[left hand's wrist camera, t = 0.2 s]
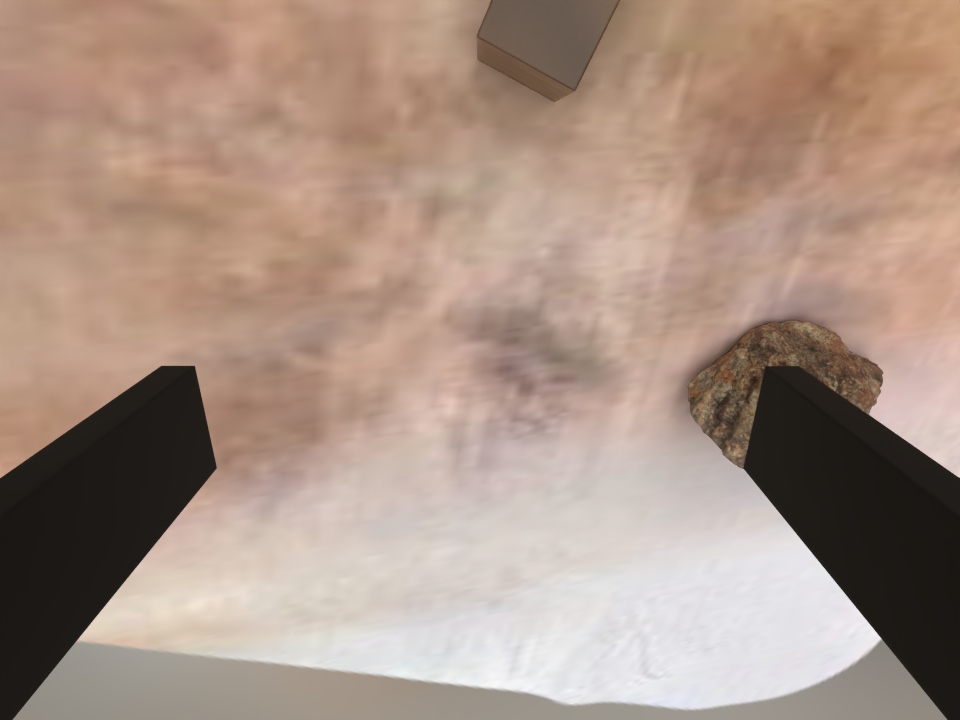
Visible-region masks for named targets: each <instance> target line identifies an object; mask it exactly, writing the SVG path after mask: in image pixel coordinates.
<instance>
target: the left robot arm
mask: <svg viewBox="0 0 960 720" xmlns="http://www.w3.org/2000/svg"><path fill="white" fill-rule="evenodd" d="M216 468H217V467H216V462H215V457H214V453H213V448H212V444H211V439H210V434H209V430H208V425H207V420H206V416H205V411H204V407H203V402H202V397H201V393H200V388H199V383H198V379H197V374H196V370H195V366H161V367H159V368H158V369H156V370H155V371H154V372H152V373H151V374H149V375H148V376H146V377H145V378H143V379H142V380H141V381H139V382H138V383H136V384H135V385H133V386H132V387H131V388H129V389H128V390H126V391H125V392H123V393H122V394H121V395H119V396H118V397H116V398H115V399H113V400H112V401H110V402H109V403H108V404H106V405H105V406H103V407H102V408H100V409H99V410H98V411H96V412H95V413H93V414H92V415H90V416H89V417H88V418H86V419H85V420H83V421H82V422H80V423H79V424H77V425H76V426H75V427H73V428H72V429H70V430H69V431H67V432H66V433H65V434H63V435H62V436H60V437H59V438H57V439H56V440H55V441H53V442H52V443H50V444H49V445H47V446H46V447H45V448H43V449H42V450H40V451H39V452H37V453H36V454H34V455H33V456H32V457H30V458H29V459H27V460H26V461H24V462H23V463H22V464H20V465H19V466H17V467H16V468H14V469H13V470H12V471H10V472H9V473H7V474H6V475H4V476H3V477H1V478H0V720H13V718H14V717H15V716H16V715H17V713H18V712H19V711H20V710H21V709H22V707H23V706H24V705H25V704H26V702H27V701H28V700H29V699H30V697H31V696H32V695H33V694H34V693H35V691H36V690H37V689H38V688H39V686H40V685H41V684H42V683H43V681H44V680H45V679H46V678H47V677H48V675H49V674H50V673H51V672H52V670H53V669H54V668H55V667H56V665H57V664H58V663H59V662H60V661H61V659H62V658H63V657H64V656H65V654H66V653H67V652H68V651H69V649H70V648H71V647H72V646H73V645H74V643H75V642H76V641H77V640H78V638H79V637H80V636H81V635H82V633H83V632H84V631H85V630H86V629H87V627H88V626H89V625H90V624H91V622H92V621H93V620H94V619H95V617H96V616H97V615H98V614H99V612H100V611H101V610H102V609H103V608H104V606H105V605H106V604H107V603H108V601H109V600H110V599H111V598H112V596H113V595H114V594H115V593H116V592H117V590H118V589H119V588H120V587H121V585H122V584H123V583H124V582H125V580H126V579H127V578H128V577H129V576H130V574H131V573H132V572H133V571H134V569H135V568H136V567H137V566H138V564H139V563H140V562H141V561H142V560H143V558H144V557H145V556H146V555H147V553H148V552H149V551H150V550H151V548H152V547H153V546H154V545H155V544H156V542H157V541H158V540H159V539H160V537H161V536H162V535H163V534H164V532H165V531H166V530H167V529H168V528H169V526H170V525H171V524H172V523H173V521H174V520H175V519H176V518H177V516H178V515H179V514H180V513H181V512H182V510H183V509H184V508H185V507H186V505H187V504H188V503H189V502H190V500H191V499H192V498H193V497H194V495H195V494H196V493H197V492H198V491H199V489H200V488H201V487H202V486H203V484H204V483H205V482H206V481H207V479H208V478H209V477H210V476H211V475H212V473H213V472H214V471H215V470H216ZM743 468H744V470H745V471H746V472H747V473H748V475H749V476H750V477H751V478H752V479H753V481H754V482H755V483H756V484H757V486H758V487H759V488H760V489H761V491H762V492H763V493H764V494H765V495H766V497H767V498H768V499H769V500H770V502H771V503H772V504H773V505H774V507H775V508H776V509H777V510H778V512H779V513H780V514H781V515H782V516H783V518H784V519H785V520H786V521H787V523H788V524H789V525H790V526H791V528H792V529H793V530H794V531H795V532H796V534H797V535H798V536H799V537H800V539H801V540H802V541H803V542H804V544H805V545H806V546H807V547H808V548H809V550H810V551H811V552H812V553H813V555H814V556H815V557H816V558H817V560H818V561H819V562H820V563H821V564H822V566H823V567H824V568H825V569H826V571H827V572H828V573H829V574H830V576H831V577H832V578H833V579H834V580H835V582H836V583H837V584H838V585H839V587H840V588H841V589H842V590H843V592H844V593H845V594H846V595H847V596H848V598H849V599H850V600H851V601H852V603H853V604H854V605H855V606H856V608H857V609H858V610H859V611H860V612H861V614H862V615H863V616H864V617H865V619H866V620H867V621H868V622H869V624H870V625H871V626H872V627H873V629H874V630H875V631H876V632H877V633H878V635H879V636H880V637H881V638H882V640H883V641H884V642H885V643H886V645H887V646H888V647H889V648H890V649H891V651H892V652H893V653H894V654H895V656H896V657H897V658H898V659H899V661H900V662H901V663H902V664H903V665H904V667H905V668H906V669H907V670H908V672H909V673H910V674H911V675H912V677H913V678H914V679H915V680H916V681H917V683H918V684H919V685H920V686H921V688H922V689H923V690H924V691H925V692H926V694H927V695H928V696H929V697H930V699H931V700H932V701H933V702H934V704H935V705H936V706H937V707H938V709H939V710H940V711H941V712H942V713H943V715H944V716H945V717H946V718H947V720H960V478H959V477H957V476H956V475H954V474H953V473H951V472H950V471H948V470H947V469H946V468H944V467H943V466H941V465H940V464H938V463H937V462H936V461H934V460H933V459H931V458H930V457H928V456H927V455H926V454H924V453H923V452H921V451H920V450H918V449H917V448H915V447H914V446H913V445H911V444H910V443H908V442H907V441H905V440H904V439H903V438H901V437H900V436H898V435H897V434H895V433H894V432H893V431H891V430H890V429H888V428H887V427H885V426H884V425H883V424H881V423H880V422H878V421H877V420H875V419H874V418H872V417H871V416H870V415H868V414H867V413H865V412H864V411H862V410H861V409H860V408H858V407H857V406H855V405H854V404H852V403H851V402H850V401H848V400H847V399H845V398H844V397H842V396H841V395H839V394H838V393H837V392H835V391H834V390H832V389H831V388H829V387H828V386H827V385H825V384H824V383H822V382H821V381H819V380H818V379H817V378H815V377H814V376H812V375H811V374H809V373H808V372H806V371H805V370H804V369H802V368H801V367H799V366H765V370H764V374H763V379H762V383H761V388H760V393H759V397H758V402H757V407H756V411H755V416H754V420H753V425H752V430H751V434H750V439H749V444H748V448H747V453H746V457H745V462H744V467H743Z"/></svg>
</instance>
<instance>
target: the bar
mask: <svg viewBox="0 0 960 720" xmlns="http://www.w3.org/2000/svg"><path fill="white" fill-rule="evenodd" d="M619 1H620V0H491V3H490V5H489V7H488V10H487V12H486V15H485V17H484V19H483V22H482V24H481V27H480V29H479V31H478V34H477V56H478V60H479V61H481V62H483V63H485V64H486V65H488V66H490V67H492V68H494V69H496V70H497V71H499V72H501V73H503V74H505V75H507V76H508V77H510V78H512V79H514V80H516V81H518V82H519V83H521V84H523V85H525V86H527V87H528V88H530V89H532V90H534V91H536V92H538V93H539V94H541V95H543V96H545V97H547V98H549V99H550V100H552V101H554V102H555V101H557V100H559V99H561V98H563V97H565V96H566V95H568V94H570V93H572V92H574V91H575V90H576V88H577V86H578V84H579V82H580V80H581V78H582V76H583V74H584V72H585V70H586V68H587V66H588V64H589V62H590V60H591V58H592V56H593V54H594V52H595V50H596V48H597V46H598V44H599V42H600V40H601V38H602V36H603V34H604V32H605V29H606V27H607V25H608V23H609V21H610V19H611V17H612V15H613V13H614V11H615V9H616V7H617V5H618V3H619Z"/></svg>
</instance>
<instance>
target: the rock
mask: <svg viewBox="0 0 960 720" xmlns="http://www.w3.org/2000/svg"><path fill="white" fill-rule="evenodd" d="M765 366H799V367H801V368H802V369H804V370H805V371H806V372H808V373H809V374H811V375H812V376H814V377H815V378H817V379H818V380H819V381H821V382H822V383H824V384H825V385H827V386H828V387H829V388H831V389H832V390H834V391H835V392H837V393H838V394H839V395H841V396H842V397H844V398H845V399H847V400H848V401H850V402H851V403H852V404H854V405H855V406H857V407H858V408H860V409H861V410H862V411H864V412H865V413H867V414H868V415H869V412H870V410H871V407H872V406H874V405H875V404H876V402H877V397H878V396H879V394H880V393H881V390H880V387H881V386H882V383H883V378H882V374H883V371H882V370H881V369H880V368H879V367H878V365H877V364H875V363H873V362H871V361H869V360H868V359H866V358H862V357H860V356H858V355H855V354H852V353H851V351H849V349H848V347H847V346H846V345H844V343H843V342H842V341H841V338H840V336H838V335H837V334H836V333H835V332H833V331H830V330H828V329H826V328H824V327H819V326H817V325H815V324H813V323H808V322H806V321H803V322H799V321H796V320H794V321H786V322H782V323H777V322H771V323H768V324H766V325H762V326H760V327H757V328H755V329H752V330H750V331H749V332H748V333H747V334H745V335H744V336H743V337H742V338H741V339H740V340H739V341H738V342H737V343H736V344H735V345H734V347H733V348H732V349H731V350H730V351H729V352H728V353H727V354H726V355H723V356H721V357H720V358H719V359H718V360H716V361H715V362H714V363H713V365H711V366H710V367H708V368H706V369H705V370H704V371H702V372H700V373H699V375H698V376H697V377H695V378H694V379H693V380H692V381H691V382H690V383H689V385H688V389H689V393H688V400H689V402H690V411H691V415H692V416H693V418H694V420H695V421H696V423H698V424H699V425H700V426H701V428H702V430H703V432H704V433H705V434H707V435H708V436H709V437H710V438H711V439H712V440H713V441H714V442H715V443H716V444H717V445H718V446H719V448H720V449H721V450H722V453H723V455H724V456H725V457H726V458H728V459H729V460H730V461H731V462H732V463H733V464H735V465H737V466H738V467H740V468H743V467H744V462H745V457H746V453H747V448H748V444H749V439H750V434H751V430H752V425H753V420H754V416H755V411H756V407H757V402H758V397H759V393H760V388H761V383H762V379H763V374H764V370H765ZM743 469H744V468H743Z"/></svg>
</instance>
